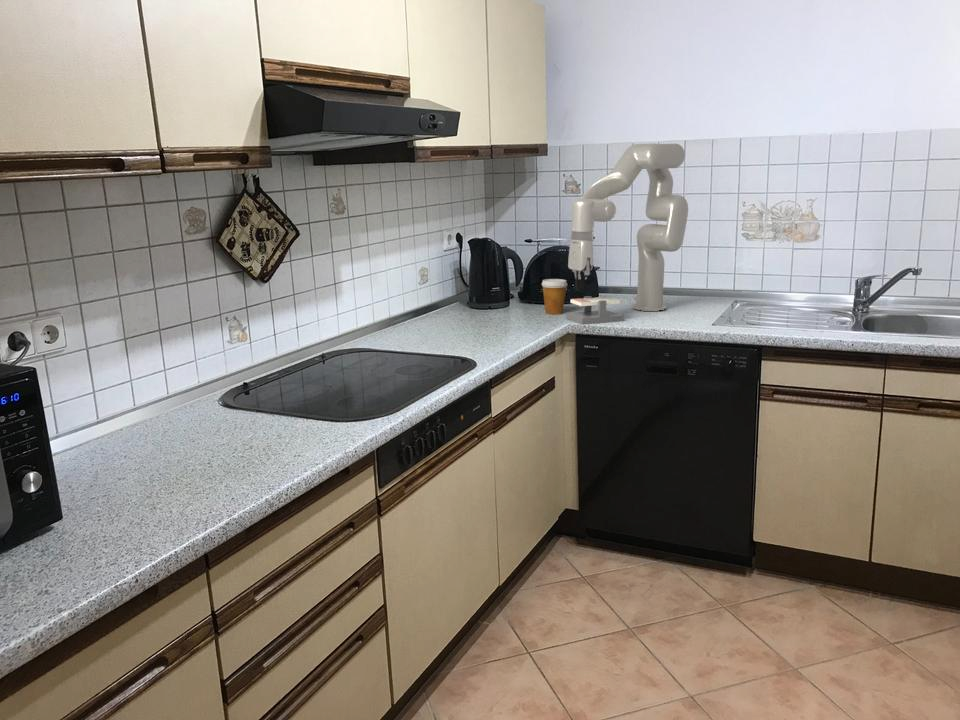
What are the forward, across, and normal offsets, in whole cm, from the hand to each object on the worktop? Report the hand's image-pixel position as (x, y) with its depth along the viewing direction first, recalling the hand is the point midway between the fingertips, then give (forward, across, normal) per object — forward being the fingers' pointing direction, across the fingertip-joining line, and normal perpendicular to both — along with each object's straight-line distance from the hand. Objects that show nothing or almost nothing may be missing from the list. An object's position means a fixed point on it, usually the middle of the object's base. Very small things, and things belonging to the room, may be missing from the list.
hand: (580, 290), depth 270 cm
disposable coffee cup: (+11, -18, -1) cm, 21 cm away
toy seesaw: (+11, 0, +6) cm, 12 cm away
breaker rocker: (+4, 0, +6) cm, 7 cm away
